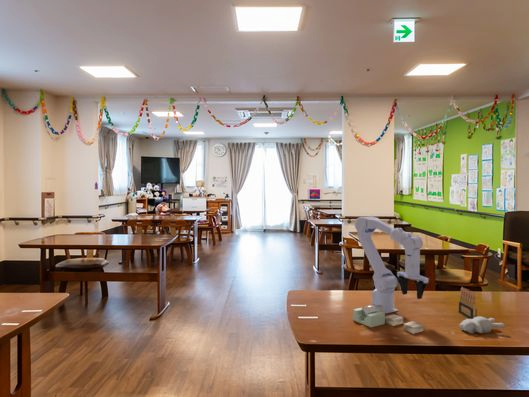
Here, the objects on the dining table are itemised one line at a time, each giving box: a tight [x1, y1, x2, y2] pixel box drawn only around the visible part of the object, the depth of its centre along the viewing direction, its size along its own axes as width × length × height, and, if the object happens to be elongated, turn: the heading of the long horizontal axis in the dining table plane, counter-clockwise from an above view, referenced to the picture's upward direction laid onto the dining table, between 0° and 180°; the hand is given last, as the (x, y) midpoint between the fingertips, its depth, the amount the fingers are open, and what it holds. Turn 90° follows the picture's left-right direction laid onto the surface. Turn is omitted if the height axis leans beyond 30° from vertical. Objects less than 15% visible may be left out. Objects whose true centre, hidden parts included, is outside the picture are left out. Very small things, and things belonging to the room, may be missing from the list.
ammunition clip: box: [458, 286, 478, 319], centre depth 168 cm, size 11×2×12 cm, turn 3°
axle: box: [361, 304, 384, 316], centre depth 162 cm, size 4×9×4 cm, turn 122°
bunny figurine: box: [458, 315, 506, 334], centre depth 152 cm, size 10×5×15 cm
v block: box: [352, 307, 386, 328], centre depth 161 cm, size 10×8×4 cm
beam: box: [385, 314, 424, 335], centre depth 156 cm, size 14×6×2 cm, turn 31°
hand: (411, 296), depth 165 cm, fingers open, 7 cm apart
